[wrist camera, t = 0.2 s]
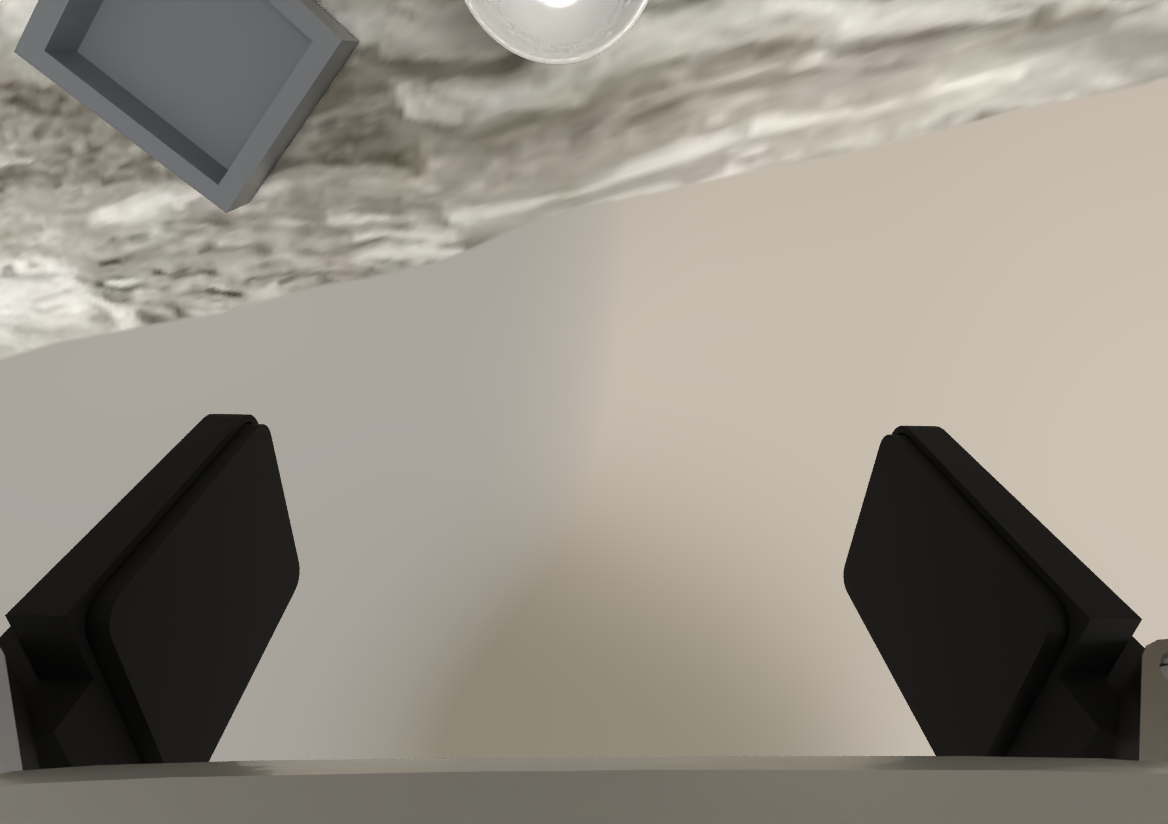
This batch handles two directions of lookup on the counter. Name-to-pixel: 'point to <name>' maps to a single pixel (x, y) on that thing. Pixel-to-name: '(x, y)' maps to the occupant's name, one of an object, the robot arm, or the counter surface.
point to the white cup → (556, 26)
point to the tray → (194, 78)
